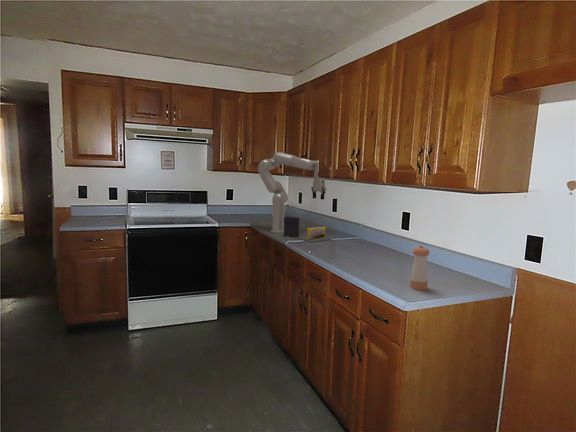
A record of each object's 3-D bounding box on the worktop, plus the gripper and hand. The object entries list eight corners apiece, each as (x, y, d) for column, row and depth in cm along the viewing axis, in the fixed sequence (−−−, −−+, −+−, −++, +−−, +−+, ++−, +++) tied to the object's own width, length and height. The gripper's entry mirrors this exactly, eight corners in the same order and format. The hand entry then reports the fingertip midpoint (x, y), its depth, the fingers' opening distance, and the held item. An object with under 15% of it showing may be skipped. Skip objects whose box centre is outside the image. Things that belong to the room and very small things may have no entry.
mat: (300, 239, 267) (300, 238, 267) (321, 237, 278) (321, 236, 278) (311, 242, 258) (311, 241, 257) (331, 239, 268) (331, 238, 268)
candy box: (308, 240, 262) (308, 228, 261) (306, 239, 264) (306, 228, 263) (325, 237, 271) (325, 226, 270) (323, 237, 273) (324, 226, 272)
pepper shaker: (420, 291, 160) (423, 248, 158) (406, 286, 166) (409, 245, 164) (430, 288, 165) (433, 246, 162) (416, 283, 170) (419, 243, 168)
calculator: (298, 236, 279) (299, 217, 277) (297, 237, 275) (298, 217, 273) (285, 235, 282) (285, 216, 280) (283, 236, 278) (283, 217, 275)
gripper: (330, 177, 276) (329, 199, 279) (315, 176, 290) (315, 197, 293) (322, 177, 272) (321, 200, 274) (308, 176, 286) (307, 198, 288)
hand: (318, 198), depth 283 cm, fingers open, 9 cm apart
